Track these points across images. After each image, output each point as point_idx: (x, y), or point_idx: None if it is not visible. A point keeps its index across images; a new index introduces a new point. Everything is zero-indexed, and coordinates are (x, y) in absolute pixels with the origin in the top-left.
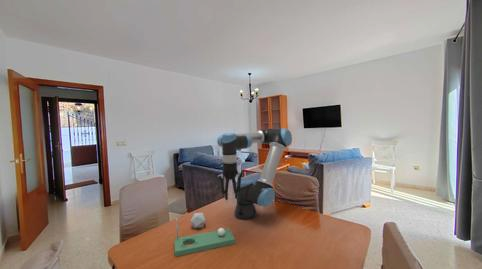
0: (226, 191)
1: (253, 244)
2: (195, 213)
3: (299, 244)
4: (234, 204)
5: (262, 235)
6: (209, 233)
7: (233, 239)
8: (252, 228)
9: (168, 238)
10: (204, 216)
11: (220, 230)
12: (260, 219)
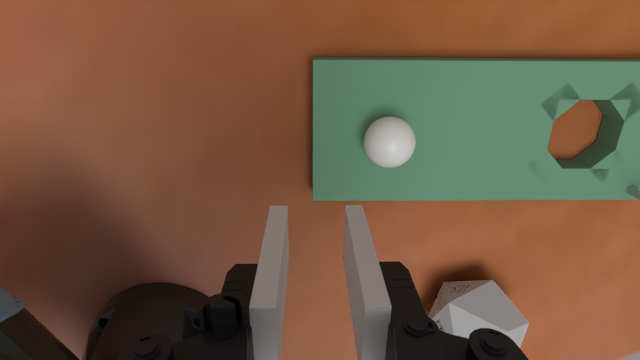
0: (430, 357)
1: (202, 6)
2: None
3: None
4: (281, 210)
5: (117, 84)
6: (446, 183)
7: (324, 60)
8: (162, 183)
9: (636, 241)
10: None
11: (402, 132)
12: (86, 262)
